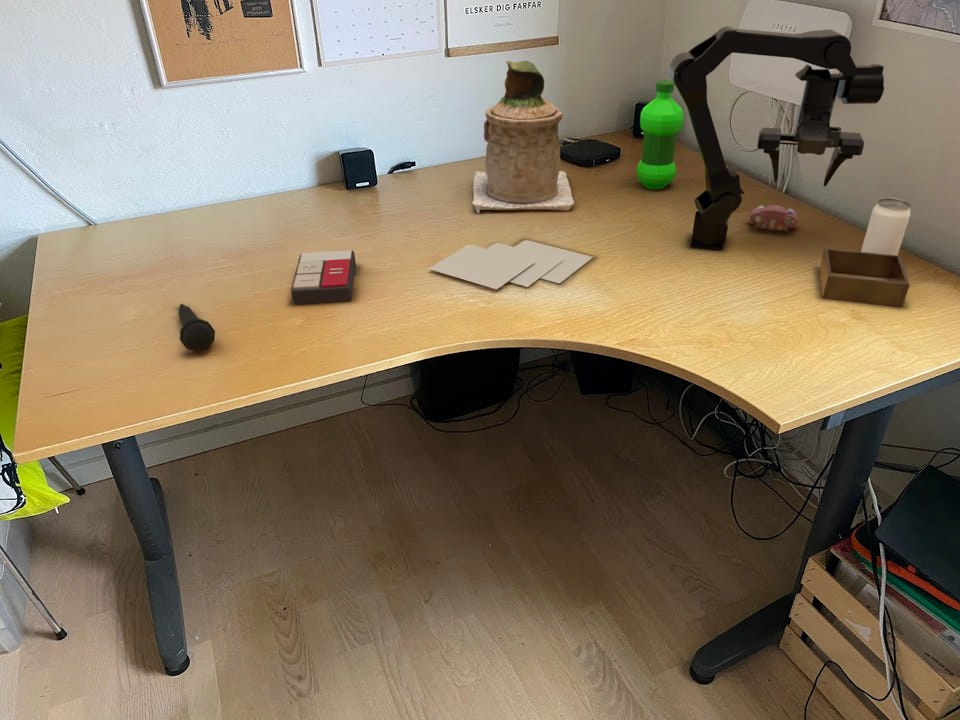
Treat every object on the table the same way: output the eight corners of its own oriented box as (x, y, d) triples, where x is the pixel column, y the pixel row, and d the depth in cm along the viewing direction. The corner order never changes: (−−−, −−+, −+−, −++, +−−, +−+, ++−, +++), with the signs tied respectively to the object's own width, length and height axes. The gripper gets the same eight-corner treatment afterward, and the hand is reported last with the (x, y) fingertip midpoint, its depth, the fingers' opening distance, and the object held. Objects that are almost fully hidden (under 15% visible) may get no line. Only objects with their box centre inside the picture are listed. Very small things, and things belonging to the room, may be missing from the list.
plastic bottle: (625, 186, 183) (634, 83, 169) (650, 175, 189) (660, 75, 175) (658, 196, 177) (670, 90, 163) (683, 184, 182) (696, 81, 169)
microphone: (177, 324, 137) (195, 362, 121) (159, 301, 134) (175, 336, 118) (203, 309, 138) (224, 344, 123) (185, 285, 135) (205, 318, 119)
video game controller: (746, 233, 160) (750, 212, 154) (749, 218, 162) (753, 196, 156) (793, 239, 157) (799, 217, 151) (796, 223, 159) (802, 201, 153)
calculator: (289, 287, 134) (299, 250, 146) (293, 307, 136) (303, 268, 149) (348, 284, 134) (353, 246, 146) (351, 303, 137) (356, 265, 149)
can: (902, 265, 142) (921, 207, 135) (873, 269, 141) (891, 211, 134) (880, 251, 147) (896, 195, 141) (852, 255, 146) (867, 199, 139)
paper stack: (493, 231, 161) (493, 228, 161) (593, 257, 149) (593, 254, 148) (428, 271, 146) (428, 268, 145) (533, 303, 133) (533, 300, 133)
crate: (822, 297, 132) (828, 275, 130) (819, 268, 142) (824, 248, 139) (902, 307, 128) (909, 284, 126) (893, 277, 138) (900, 255, 135)
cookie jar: (575, 211, 170) (582, 68, 152) (471, 214, 170) (466, 72, 153) (566, 176, 190) (571, 46, 173) (473, 178, 191) (469, 49, 173)
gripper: (764, 112, 132) (749, 193, 141) (876, 118, 127) (854, 202, 136) (765, 97, 141) (751, 175, 150) (870, 102, 136) (849, 182, 144)
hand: (799, 183), depth 145 cm, fingers open, 9 cm apart
